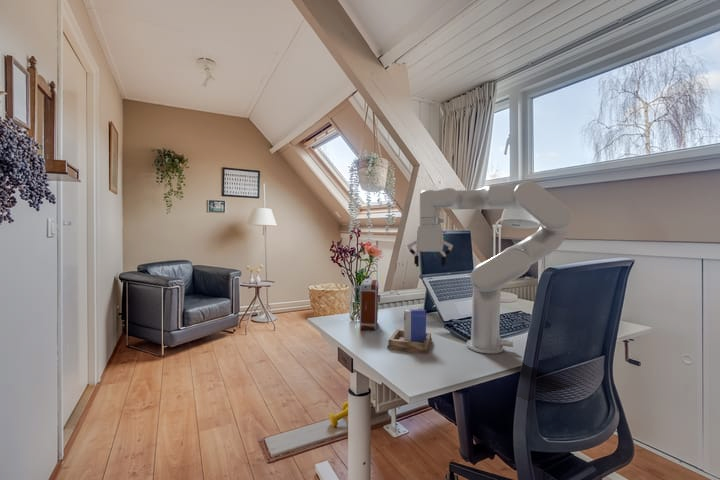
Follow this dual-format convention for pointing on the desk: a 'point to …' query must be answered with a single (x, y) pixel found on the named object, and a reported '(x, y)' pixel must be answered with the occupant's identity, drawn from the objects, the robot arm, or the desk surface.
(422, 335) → the walkman
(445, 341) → the desk surface
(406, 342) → the wooden tray
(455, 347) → the desk surface
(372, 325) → the cine camera
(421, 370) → the desk surface
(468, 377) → the desk surface
